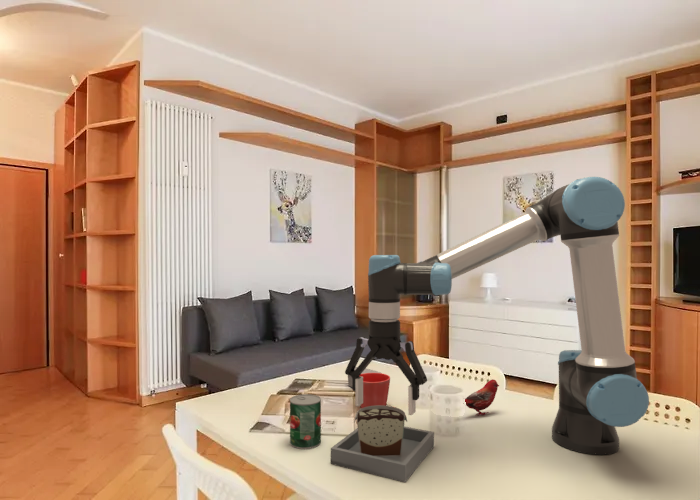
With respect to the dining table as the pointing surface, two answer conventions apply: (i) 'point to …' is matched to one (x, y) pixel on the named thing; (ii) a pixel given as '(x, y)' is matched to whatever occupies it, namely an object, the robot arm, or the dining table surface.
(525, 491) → the dining table surface
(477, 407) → the decorative bird figurine
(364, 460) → the tray
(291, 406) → the canned tomato
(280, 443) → the dining table surface
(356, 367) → the decorative stone
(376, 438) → the food container
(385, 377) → the flower pot
